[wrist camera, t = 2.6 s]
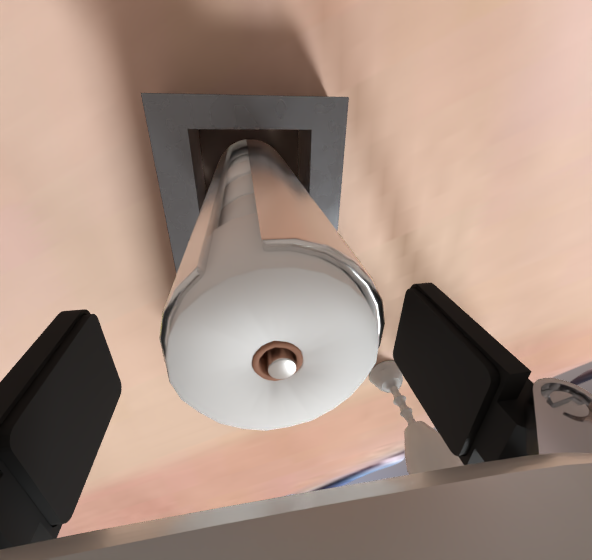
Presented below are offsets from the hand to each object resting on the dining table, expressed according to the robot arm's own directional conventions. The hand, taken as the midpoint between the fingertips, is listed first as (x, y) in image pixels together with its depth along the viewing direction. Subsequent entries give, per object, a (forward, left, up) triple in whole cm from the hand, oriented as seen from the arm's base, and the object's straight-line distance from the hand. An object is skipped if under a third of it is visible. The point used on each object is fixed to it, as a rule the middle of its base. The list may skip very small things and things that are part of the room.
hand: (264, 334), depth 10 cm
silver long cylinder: (0, 0, -23) cm, 23 cm away
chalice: (+28, +18, -23) cm, 41 cm away
